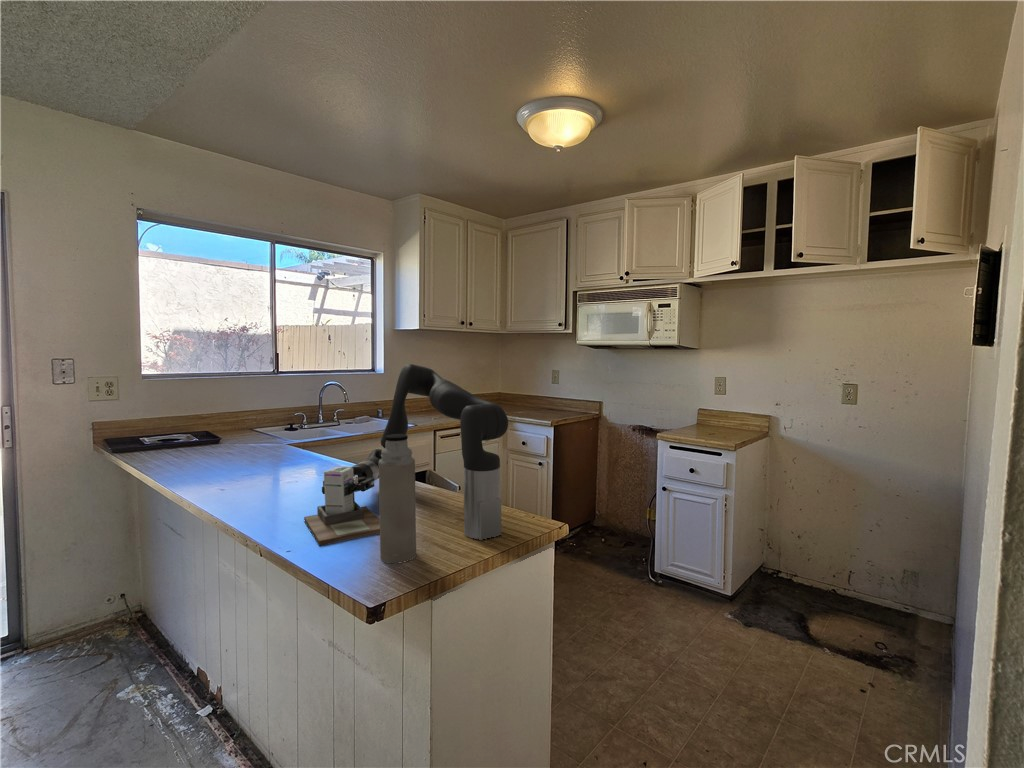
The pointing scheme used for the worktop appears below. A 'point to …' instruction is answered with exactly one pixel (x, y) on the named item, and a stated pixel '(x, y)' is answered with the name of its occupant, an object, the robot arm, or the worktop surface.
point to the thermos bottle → (397, 500)
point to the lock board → (342, 525)
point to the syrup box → (338, 490)
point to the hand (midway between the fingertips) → (335, 491)
